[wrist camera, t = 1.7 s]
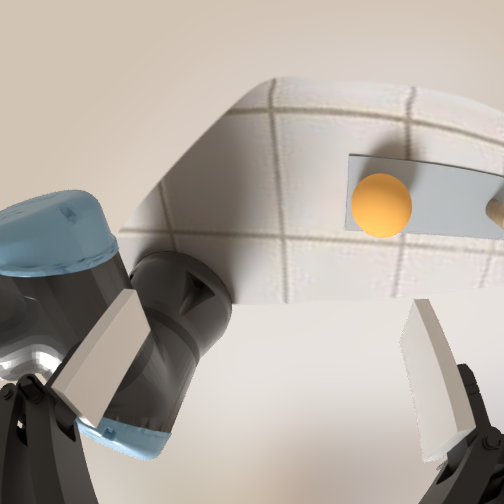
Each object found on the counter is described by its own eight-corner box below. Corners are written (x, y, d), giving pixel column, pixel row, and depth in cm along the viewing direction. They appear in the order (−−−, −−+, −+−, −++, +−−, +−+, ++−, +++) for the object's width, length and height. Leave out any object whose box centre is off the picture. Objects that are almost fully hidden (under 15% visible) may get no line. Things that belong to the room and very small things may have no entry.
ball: (345, 220, 29) (352, 247, 24) (348, 165, 26) (358, 180, 21) (397, 223, 28) (414, 250, 23) (404, 169, 25) (425, 186, 20)
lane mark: (344, 229, 29) (344, 230, 29) (348, 155, 25) (348, 155, 25) (526, 241, 24) (526, 242, 24) (539, 186, 20) (540, 187, 20)
